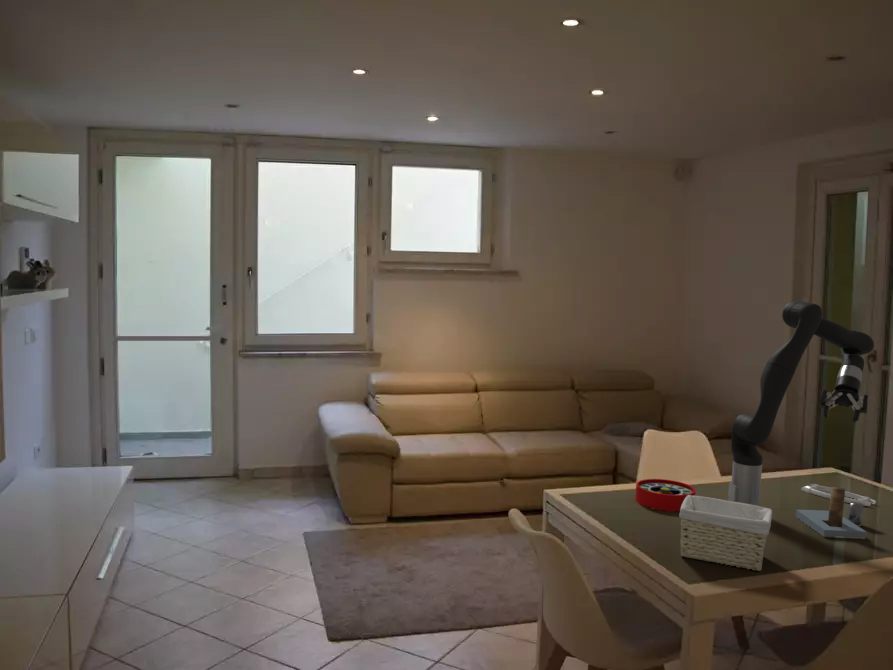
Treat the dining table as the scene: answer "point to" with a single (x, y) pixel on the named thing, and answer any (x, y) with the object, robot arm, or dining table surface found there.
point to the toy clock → (662, 493)
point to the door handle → (818, 490)
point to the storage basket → (724, 531)
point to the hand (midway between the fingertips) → (840, 418)
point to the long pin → (836, 507)
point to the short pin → (855, 513)
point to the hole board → (820, 524)
